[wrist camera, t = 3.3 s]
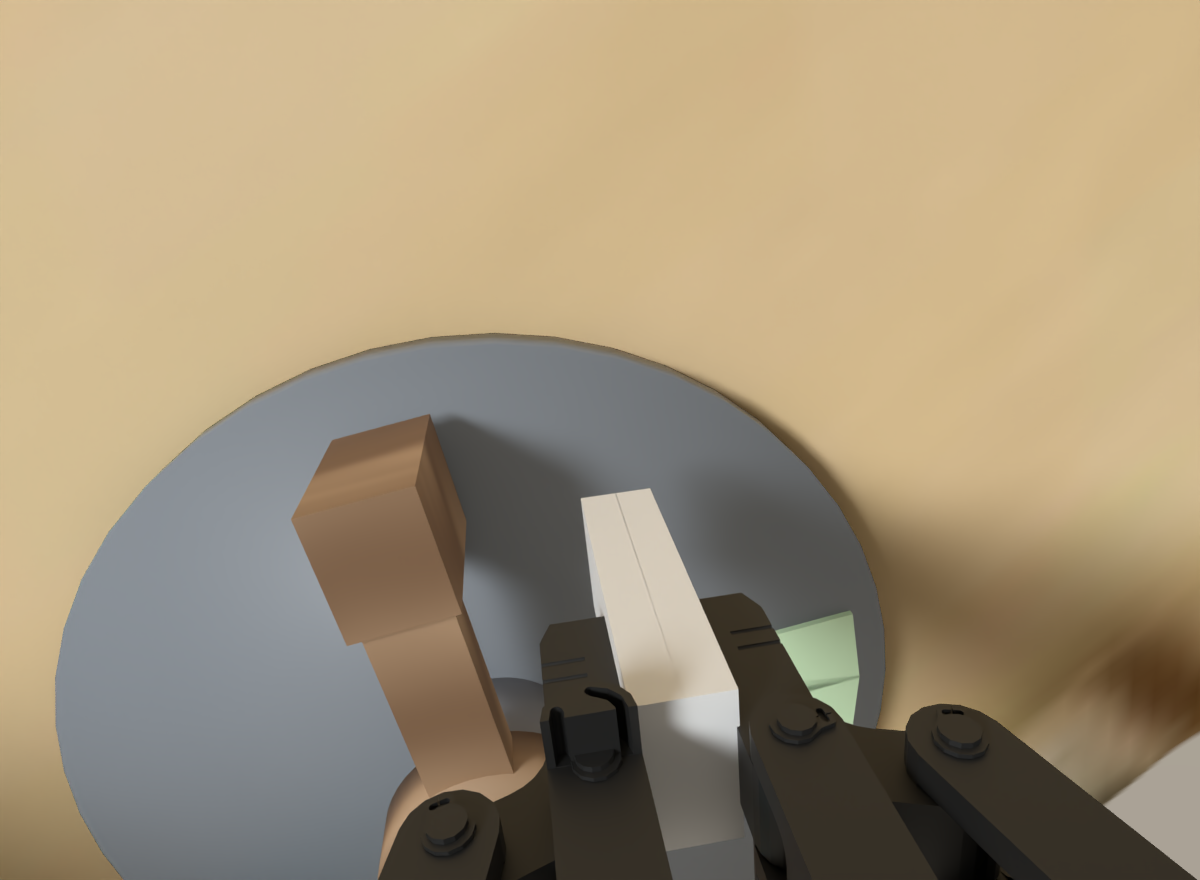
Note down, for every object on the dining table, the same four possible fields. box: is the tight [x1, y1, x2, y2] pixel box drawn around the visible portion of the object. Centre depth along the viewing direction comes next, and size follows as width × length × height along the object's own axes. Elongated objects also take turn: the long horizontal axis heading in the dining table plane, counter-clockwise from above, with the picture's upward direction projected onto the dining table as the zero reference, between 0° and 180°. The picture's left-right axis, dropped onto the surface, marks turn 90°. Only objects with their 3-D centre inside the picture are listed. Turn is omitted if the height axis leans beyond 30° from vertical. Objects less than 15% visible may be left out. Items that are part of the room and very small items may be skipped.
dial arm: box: [291, 414, 546, 878], centre depth 21 cm, size 22×6×4 cm, turn 13°
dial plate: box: [55, 333, 885, 880], centre depth 22 cm, size 24×24×4 cm
